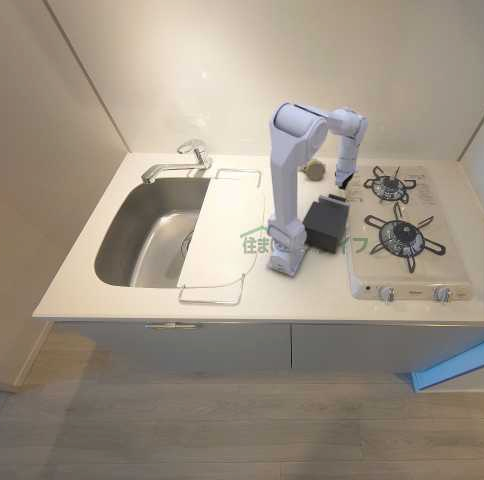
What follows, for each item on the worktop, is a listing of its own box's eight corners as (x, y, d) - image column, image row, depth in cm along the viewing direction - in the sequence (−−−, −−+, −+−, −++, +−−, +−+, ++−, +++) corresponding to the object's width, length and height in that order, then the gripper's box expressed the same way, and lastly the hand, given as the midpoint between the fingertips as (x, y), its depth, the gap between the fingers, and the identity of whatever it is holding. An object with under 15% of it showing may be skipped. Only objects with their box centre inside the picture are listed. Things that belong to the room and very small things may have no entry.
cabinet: (312, 218, 90) (313, 201, 83) (345, 228, 87) (348, 211, 80) (300, 242, 84) (300, 225, 77) (335, 253, 82) (338, 237, 75)
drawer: (322, 201, 93) (323, 186, 88) (350, 209, 91) (354, 195, 85) (308, 228, 86) (308, 215, 81) (338, 238, 84) (341, 225, 78)
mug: (320, 163, 107) (328, 151, 97) (318, 185, 105) (326, 176, 96) (302, 159, 105) (309, 147, 96) (300, 182, 104) (306, 173, 94)
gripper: (354, 172, 73) (347, 206, 84) (367, 143, 80) (359, 177, 91) (330, 166, 74) (326, 200, 85) (345, 138, 82) (340, 172, 93)
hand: (342, 188), depth 88 cm, fingers closed
